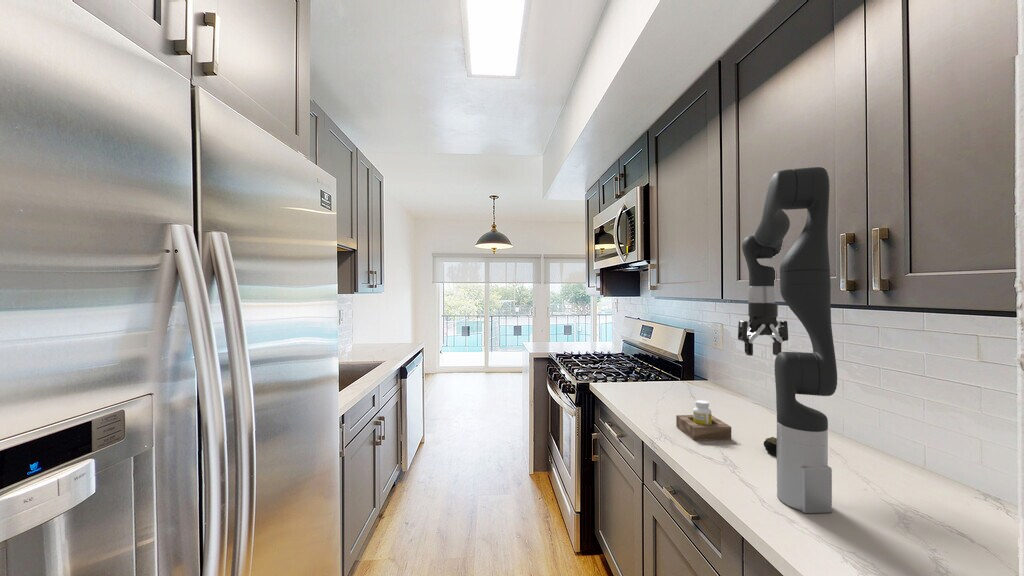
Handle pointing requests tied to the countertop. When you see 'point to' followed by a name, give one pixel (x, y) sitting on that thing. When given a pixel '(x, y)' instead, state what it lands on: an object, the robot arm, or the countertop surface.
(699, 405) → the supplement bottle
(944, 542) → the countertop surface
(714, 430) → the socket block
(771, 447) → the tape measure
